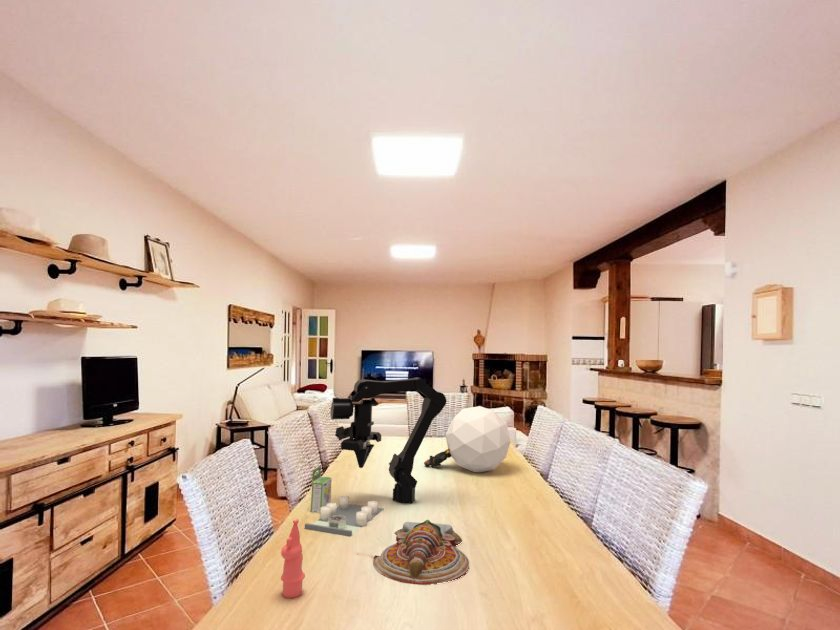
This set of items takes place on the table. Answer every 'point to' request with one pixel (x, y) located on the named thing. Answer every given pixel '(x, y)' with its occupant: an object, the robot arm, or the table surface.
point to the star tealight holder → (337, 521)
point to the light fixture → (475, 440)
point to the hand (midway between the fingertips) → (361, 467)
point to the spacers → (343, 505)
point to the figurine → (292, 564)
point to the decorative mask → (423, 555)
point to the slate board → (350, 521)
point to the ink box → (320, 491)
